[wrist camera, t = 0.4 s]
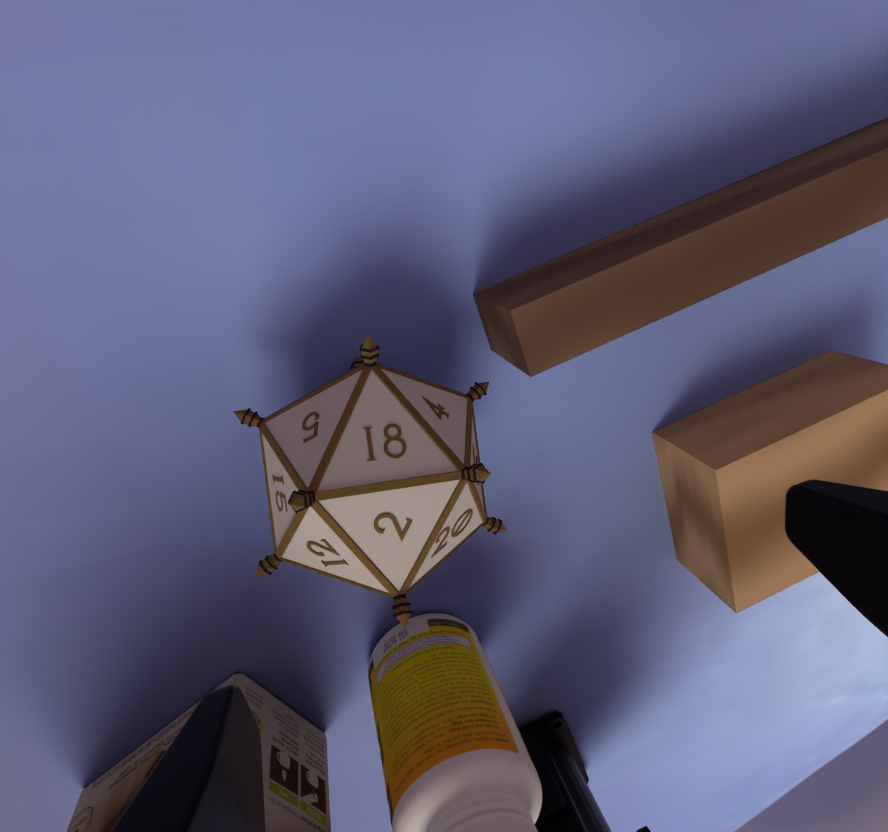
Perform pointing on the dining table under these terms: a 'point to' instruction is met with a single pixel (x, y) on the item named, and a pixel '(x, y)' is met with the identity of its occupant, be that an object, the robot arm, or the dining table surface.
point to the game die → (373, 478)
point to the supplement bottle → (448, 733)
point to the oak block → (769, 469)
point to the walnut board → (687, 253)
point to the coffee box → (283, 762)
